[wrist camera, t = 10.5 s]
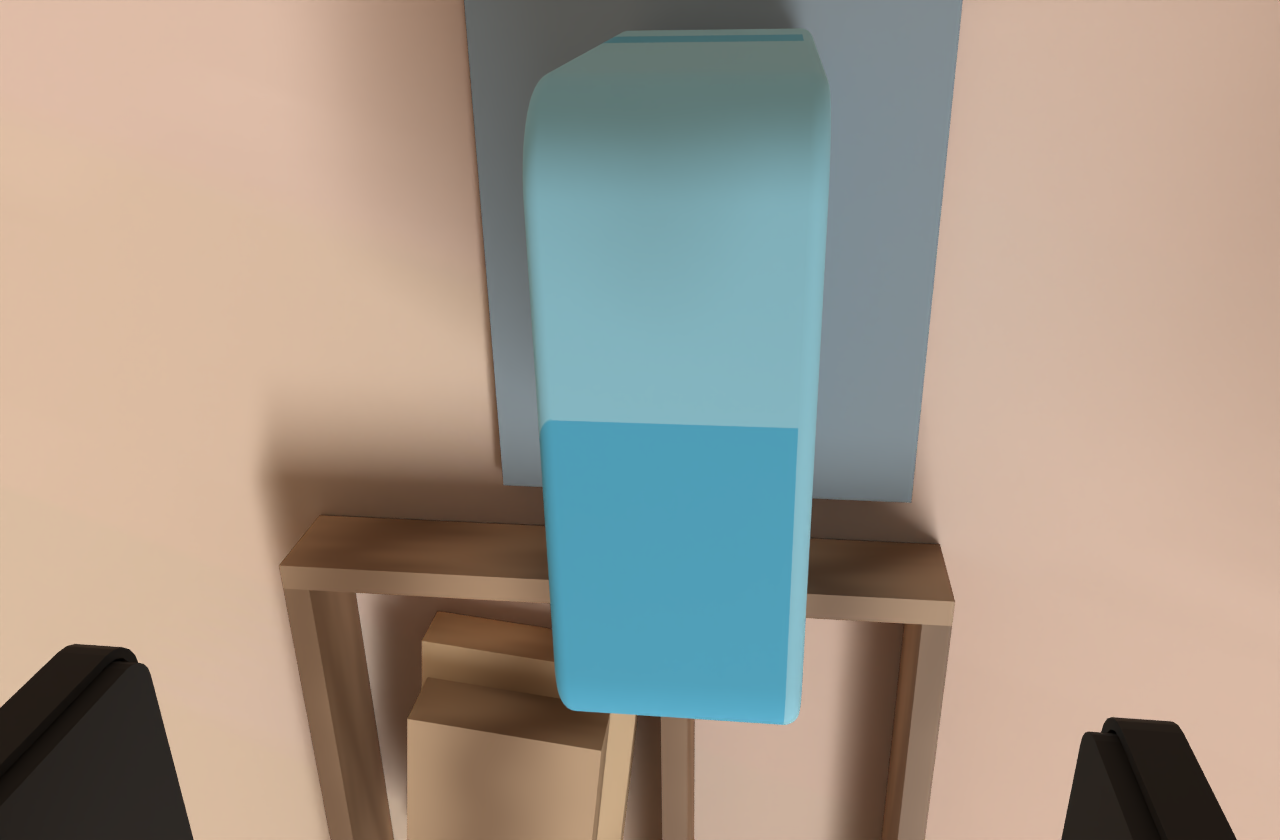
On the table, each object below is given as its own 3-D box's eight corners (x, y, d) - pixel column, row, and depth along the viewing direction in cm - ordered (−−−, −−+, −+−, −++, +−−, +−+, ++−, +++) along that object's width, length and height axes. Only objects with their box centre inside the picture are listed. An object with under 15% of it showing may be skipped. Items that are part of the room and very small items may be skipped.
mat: (961, -28, 25) (965, -28, 24) (908, 492, 30) (910, 502, 30) (469, -20, 26) (462, -20, 26) (508, 476, 32) (503, 485, 31)
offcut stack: (647, 637, 34) (631, 718, 31) (621, 856, 38) (604, 951, 35) (440, 604, 35) (400, 681, 31) (436, 824, 39) (401, 915, 35)
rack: (939, 544, 31) (955, 601, 28) (887, 993, 39) (895, 1071, 36) (319, 515, 33) (279, 565, 31) (391, 945, 41) (363, 1014, 39)
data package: (625, 25, 26) (511, 84, 15) (811, 23, 25) (835, 82, 14) (636, 462, 30) (556, 748, 20) (791, 468, 30) (798, 765, 19)
